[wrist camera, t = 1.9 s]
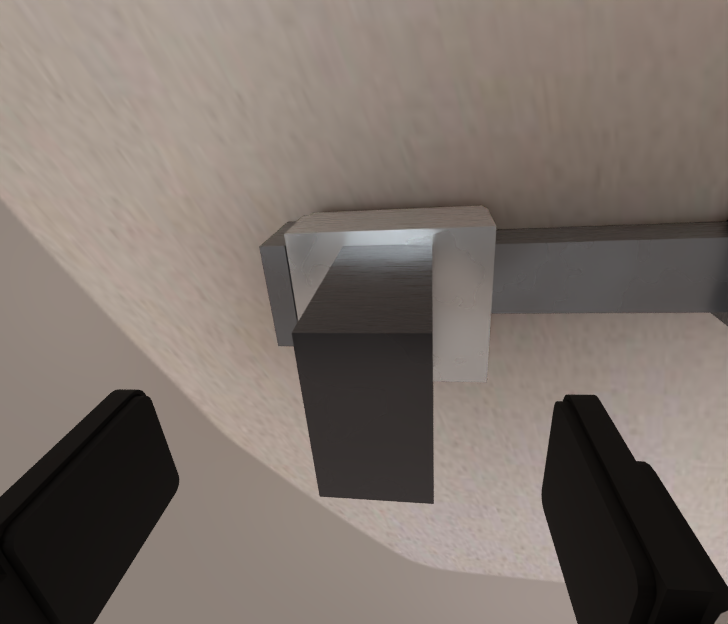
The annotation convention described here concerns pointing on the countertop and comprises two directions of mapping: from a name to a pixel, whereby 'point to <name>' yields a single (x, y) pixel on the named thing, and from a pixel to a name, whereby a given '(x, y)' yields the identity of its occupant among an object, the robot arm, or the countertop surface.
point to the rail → (574, 271)
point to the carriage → (386, 337)
